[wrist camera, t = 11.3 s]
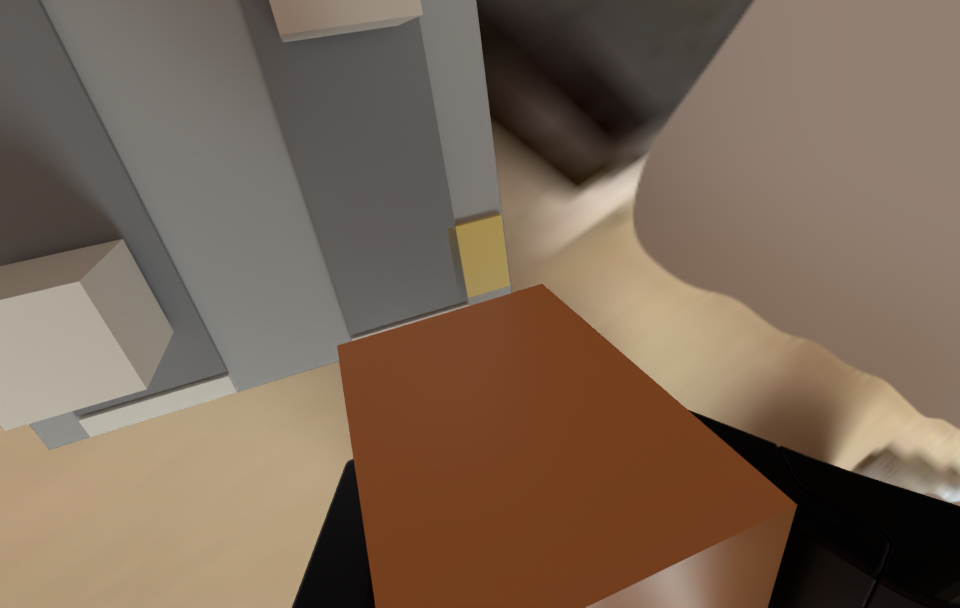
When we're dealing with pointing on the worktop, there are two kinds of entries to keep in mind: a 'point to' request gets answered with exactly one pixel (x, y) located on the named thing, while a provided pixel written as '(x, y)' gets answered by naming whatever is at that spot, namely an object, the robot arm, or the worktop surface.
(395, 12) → the toggle
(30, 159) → the breaker panel
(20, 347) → the toggle
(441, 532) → the orange rectangular block
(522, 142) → the worktop surface
